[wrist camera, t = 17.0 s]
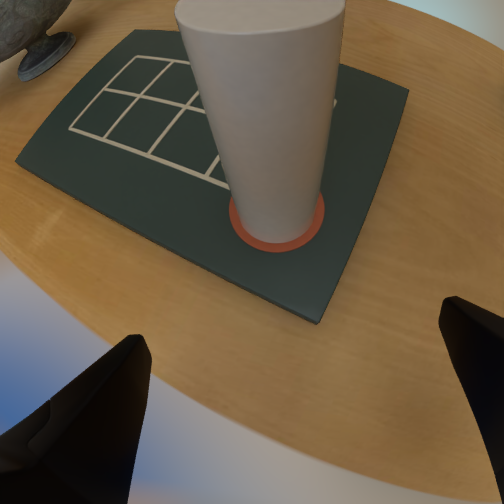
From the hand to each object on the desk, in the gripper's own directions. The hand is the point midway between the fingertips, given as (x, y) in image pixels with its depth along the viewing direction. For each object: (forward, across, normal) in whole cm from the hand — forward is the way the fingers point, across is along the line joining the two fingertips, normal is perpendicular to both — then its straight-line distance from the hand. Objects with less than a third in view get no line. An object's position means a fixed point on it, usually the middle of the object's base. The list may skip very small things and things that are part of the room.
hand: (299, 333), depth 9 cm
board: (+19, +6, -6) cm, 20 cm away
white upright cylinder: (+11, 0, 0) cm, 11 cm away
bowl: (+34, +29, -21) cm, 49 cm away
